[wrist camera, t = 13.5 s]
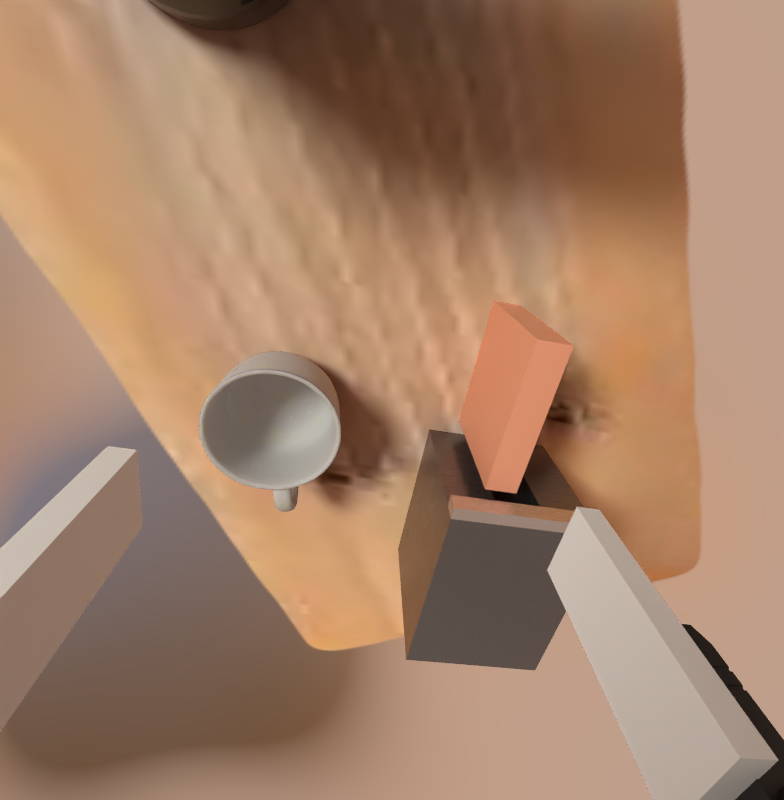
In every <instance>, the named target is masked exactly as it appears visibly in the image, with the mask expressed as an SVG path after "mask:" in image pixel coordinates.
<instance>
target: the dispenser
mask: <svg viewBox="0 0 784 800" xmlns="http://www.w3.org/2000/svg"><path fill="white" fill-rule="evenodd" d="M576 507H583V505H582V504H581V502H580V501H579V499H578V498H577V496H576V495H575V494H574V492H573V491H572V489H571V488H570V486H569V485H568V483H567V482H566V480H565V479H564V477H563V476H562V474H561V473H560V471H559V470H558V468H557V467H556V465H555V464H554V462H553V461H552V459H551V458H550V456H549V455H548V453H547V452H546V450H545V449H544V447H543V446H536V445H535V447H534V450H533V452H532V455H531V457H530V460H529V462H528V465H527V467H526V470H525V473H524V475H523V478H522V480H521V483H520V485H519V488H518V491H517V493H509V492H501V491H494V490H487V489H485V488H484V485H483V482H482V480H481V477H480V474H479V472H478V469H477V467H476V464H475V461H474V459H473V456H472V453H471V451H470V448H469V445H468V443H467V440H466V438H465V435H462V434H455V433H449V432H442V431H435V430H429V433H428V437H427V441H426V445H425V449H424V453H423V456H422V460H421V464H420V468H419V472H418V476H417V479H416V483H415V487H414V491H413V495H412V499H411V502H410V506H409V510H408V514H407V518H406V522H405V525H404V529H403V533H402V537H401V541H400V544H399V548H398V552H399V566H400V580H401V594H402V608H403V622H404V636H405V649H406V659H407V660H418V661H431V662H443V663H454V664H466V665H478V666H491V667H502V668H514V669H526V670H535V669H536V667H537V665H538V663H539V662H540V660H541V658H542V656H543V654H544V652H545V650H546V648H547V646H548V644H549V643H550V640H551V639H552V637H553V635H554V633H555V631H556V629H557V627H558V625H559V624H560V622H561V620H562V618H563V616H564V614H565V612H566V610H565V608H564V605H563V603H562V601H561V599H560V597H559V595H558V593H557V590H556V588H555V586H554V584H553V582H552V580H551V577H550V575H549V573H548V571H547V569H548V567H549V565H550V563H551V561H552V559H553V556H554V554H555V552H556V550H557V548H558V546H559V544H560V541H561V539H562V537H563V535H564V533H565V531H566V529H567V526H568V524H569V522H570V520H571V518H572V516H573V514H574V511H575V509H576ZM583 508H584V507H583Z"/></svg>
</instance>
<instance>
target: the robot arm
mask: <svg viewBox="0 0 784 800" xmlns="http://www.w3.org/2000/svg"><path fill="white" fill-rule="evenodd" d="M149 1H150V2H152V3H153V4H154V5H155V6H157V7H158V8H160V9H161V10H163V11H164V12H166V13H168V14H170V15H171V16H173V17H175V18H177V19H179V20H181V21H184V22H186V23H189V24H192V25H195V26H198V27H203V28H208V29H216V30H231V29H239V28H244V27H248V26H251V25H254V24H256V23H259V22H261V21H263V20H265V19H267V18H268V17H270V16H271V15H273V14H275V13H276V12H277V11H278V10H280V9H281V8H282V7H283V6H284V5H285V4H286V3H287V2H288V1H289V0H149ZM140 496H141V495H140V483H139V470H138V457H137V450H133V449H125V448H118V447H110V446H108V447H107V448H106V449H104V450H103V451H102V452H101V453H100V454H99V455H98V456H97V457H96V458H95V459H94V460H93V461H92V462H91V463H90V464H89V465H88V466H87V467H85V468H84V469H83V470H82V471H81V472H80V473H79V474H78V475H77V476H76V477H75V478H74V479H73V480H72V481H71V482H70V483H69V484H68V485H67V486H66V487H64V489H62V490H61V491H60V492H59V493H58V494H57V495H56V496H55V497H54V498H53V499H52V500H51V501H50V502H49V503H48V504H47V505H46V506H45V507H43V508H42V510H40V511H39V512H38V513H37V514H36V515H35V516H34V517H33V518H32V519H31V520H30V521H29V522H28V523H27V524H26V525H25V526H24V527H22V529H20V530H19V531H18V532H17V533H16V534H15V535H14V536H13V537H12V538H11V539H10V540H9V541H8V542H7V543H6V544H5V545H4V546H3V547H1V549H0V731H1V730H2V729H3V727H4V725H5V724H6V723H7V721H8V720H9V718H10V717H11V716H12V714H13V713H14V711H15V710H16V708H17V707H18V705H19V704H20V703H21V701H22V699H23V698H24V697H25V695H26V694H27V692H28V691H29V690H30V688H31V687H32V685H33V684H34V682H35V681H36V679H37V678H38V677H39V675H40V674H41V672H42V671H43V669H44V668H45V666H46V665H47V664H48V662H49V661H50V659H51V658H52V656H53V655H54V653H55V652H56V651H57V649H58V648H59V646H60V645H61V643H62V642H63V640H64V639H65V638H66V636H67V635H68V633H69V632H70V630H71V629H72V627H73V626H74V624H75V623H76V622H77V620H78V619H79V617H80V616H81V614H82V613H83V612H84V610H85V609H86V607H87V606H88V604H89V603H90V601H91V600H92V599H93V597H94V595H95V594H96V593H97V591H98V590H99V588H100V587H101V586H102V584H103V583H104V581H105V580H106V578H107V577H108V575H109V574H110V573H111V571H112V570H113V568H114V567H115V565H116V564H117V563H118V561H119V560H120V558H121V556H122V555H123V554H124V552H125V551H126V549H127V548H128V547H129V545H130V544H131V542H132V541H133V539H134V538H135V536H136V535H137V534H138V532H139V531H140V529H141V528H142V526H143V520H142V508H141V497H140ZM547 571H548V573H549V575H550V577H551V580H552V582H553V584H554V586H555V588H556V590H557V593H558V595H559V597H560V599H561V601H562V603H563V605H564V608H565V610H566V612H567V614H568V616H569V618H570V620H571V623H572V625H573V627H574V629H575V631H576V633H577V636H578V638H579V640H580V642H581V644H582V646H583V648H584V651H585V653H586V655H587V657H588V660H589V661H590V664H591V666H592V668H593V670H594V672H595V675H596V677H597V679H598V681H599V683H600V685H601V688H602V690H603V692H604V694H605V696H606V698H607V700H608V703H609V705H610V707H611V709H612V711H613V714H614V716H615V718H616V720H617V722H618V724H619V727H620V729H621V731H622V733H623V735H624V737H625V740H626V742H627V744H628V746H629V748H630V750H631V752H632V755H633V756H634V759H635V761H636V763H637V765H638V767H639V770H640V772H641V774H642V776H643V778H644V781H645V782H646V785H647V787H648V789H649V791H650V794H651V795H652V798H653V800H784V740H783V739H782V737H781V736H780V735H779V733H778V732H777V731H776V729H775V728H774V727H773V725H772V724H771V723H770V721H769V720H768V719H767V717H766V716H765V715H764V713H763V712H762V711H761V709H760V708H759V707H758V705H757V704H756V703H755V701H754V700H753V699H752V697H751V696H750V695H749V693H748V692H747V691H745V690H743V686H742V684H741V683H740V681H739V680H738V679H737V677H736V676H735V675H734V673H733V672H731V671H729V667H728V665H727V664H726V663H725V661H724V660H723V659H722V657H721V656H720V655H719V653H718V652H717V651H716V649H715V648H714V647H713V646H712V644H711V643H710V642H708V641H707V640H706V639H705V638H704V637H703V636H702V635H701V634H700V633H699V632H697V631H696V630H695V629H694V628H693V627H692V626H691V625H686V624H681V623H680V622H679V620H678V619H677V617H676V616H675V615H674V613H673V612H672V610H671V609H670V608H669V606H668V605H667V603H666V602H665V601H664V599H663V598H662V596H661V595H660V594H659V592H658V591H657V590H656V588H655V587H654V585H653V584H652V582H651V581H650V580H649V578H648V577H647V575H646V574H645V573H644V571H643V570H642V568H641V567H640V566H639V564H638V563H637V561H636V560H635V559H634V557H633V556H632V554H631V553H630V552H629V550H628V549H627V548H626V546H625V545H624V543H623V542H622V541H621V539H620V538H619V536H618V535H617V534H616V532H615V531H614V529H613V528H612V527H611V525H610V524H609V522H608V521H607V520H606V518H605V517H604V515H603V514H602V513H601V511H600V510H599V509H591V508H583V507H576V509H575V511H574V514H573V516H572V518H571V520H570V522H569V524H568V526H567V529H566V531H565V533H564V535H563V537H562V539H561V541H560V544H559V546H558V548H557V550H556V552H555V554H554V556H553V559H552V561H551V563H550V565H549V567H548V569H547Z"/></svg>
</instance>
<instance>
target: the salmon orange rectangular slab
mask: <svg viewBox="0 0 784 800" xmlns="http://www.w3.org/2000/svg"><path fill="white" fill-rule="evenodd" d="M573 347H574V346H573V345H572V344H571V343H569V342H568V341H567V340H565V339H564V338H563V337H561V336H560V335H559V334H557V333H556V332H555V331H553V330H552V329H551V328H550V327H548V326H547V325H546V324H544V323H543V322H542V321H540V320H539V319H538V318H536V317H535V316H534V315H532V314H531V313H530V312H528V311H527V310H526V309H524V308H523V307H522V306H518V305H513V304H508V303H503V302H497V301H494V303H493V306H492V309H491V313H490V316H489V320H488V323H487V326H486V330H485V333H484V337H483V340H482V344H481V347H480V350H479V354H478V357H477V361H476V364H475V367H474V371H473V374H472V378H471V381H470V385H469V388H468V391H467V395H466V398H465V402H464V405H463V409H462V412H461V415H460V419H459V422H460V424H461V427H462V430H463V432H464V435H465V438H466V440H467V443H468V445H469V448H470V451H471V453H472V456H473V459H474V461H475V464H476V467H477V469H478V472H479V474H480V477H481V480H482V482H483V485H484V488H485V489H487V490H494V491H501V492H509V493H517V491H518V488H519V485H520V483H521V480H522V478H523V475H524V473H525V470H526V467H527V465H528V462H529V460H530V457H531V455H532V452H533V450H534V447H535V444H536V442H537V439H538V437H539V434H540V432H541V429H542V426H543V424H544V421H545V419H546V416H547V414H548V411H549V408H550V406H551V403H552V401H553V398H554V396H555V393H556V390H557V388H558V385H559V383H560V380H561V378H562V375H563V373H564V370H565V367H566V365H567V362H568V360H569V357H570V355H571V352H572V349H573Z"/></svg>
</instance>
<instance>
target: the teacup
mask: <svg viewBox="0 0 784 800" xmlns="http://www.w3.org/2000/svg"><path fill="white" fill-rule="evenodd" d="M199 435H200V440H201V442H202V446H203V447H204V449H205V452H206V453H207V456H208V457H209V458H210V460H211V461H212V463H213V464H214V465H215V466H216V467H217V468H218V469H219V470H220V471H221V472H223V473H224V474H225V475H226V476H228V477H230V478H231V479H233V480H235V481H237V482H239V483H241V484H244V485H247V486H250V487H254V488H260V489H268V490H273V491H274V502H275V506H276V508H277V510H279V511H283V512H284V511H291V510H293V509H294V508H295V507H296V504H297V497H298V486H300V485H302V484H305V483H308V482H310V481H312V480H314V479H315V478H317V477H318V476H320V475H321V474H322V473H323V472H324V471H326V470H327V468H328V467H329V466H330V465H331V464H332V462H333V461H334V459H335V457H336V455H337V453H338V450H339V446H340V442H341V423H340V409H339V401H338V397H337V393H336V390H335V388H334V386H333V384H332V382H331V380H330V379H329V377H328V376H327V375H326V373H325V372H324V371H323V370H322V369H321V368H320V367H319V366H317V365H316V364H315V363H313V362H312V361H310V360H308V359H306V358H304V357H302V356H300V355H297V354H293V353H289V352H282V351H272V352H264V353H260V354H256V355H254V356H251V357H249V358H247V359H245V360H244V361H242V362H240V363H239V364H238V365H236V366H235V367H234V368H233V369H232V370H231V371H230V372H229V373H228V374H227V375H226V376H225V378H224V379H223V380H222V381H221V382H220V384H219V385H218V386H217V387H216V388H215V389H214V390H213V391H212V392H211V393H210V395H209V396H208V398H207V399H206V401H205V403H204V405H203V407H202V410H201V412H200V418H199Z"/></svg>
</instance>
